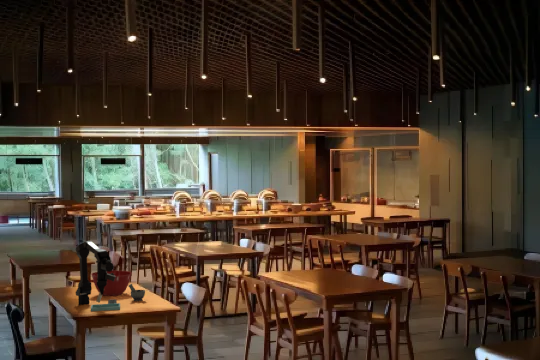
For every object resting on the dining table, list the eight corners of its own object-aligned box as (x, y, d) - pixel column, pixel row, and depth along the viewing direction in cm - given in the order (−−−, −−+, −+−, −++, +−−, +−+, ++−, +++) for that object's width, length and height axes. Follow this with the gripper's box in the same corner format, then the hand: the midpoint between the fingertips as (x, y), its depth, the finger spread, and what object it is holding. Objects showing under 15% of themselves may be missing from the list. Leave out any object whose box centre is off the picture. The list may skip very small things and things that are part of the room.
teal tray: (90, 312, 446) (90, 308, 446) (91, 308, 458) (91, 304, 458) (120, 310, 450) (120, 306, 450) (120, 307, 461) (120, 303, 461)
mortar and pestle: (143, 299, 488) (143, 281, 488) (146, 301, 479) (146, 283, 479) (127, 300, 483) (126, 283, 483) (130, 303, 475) (129, 285, 474)
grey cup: (108, 307, 461) (108, 301, 461) (108, 305, 466) (108, 299, 466) (116, 306, 462) (116, 300, 462) (116, 305, 467) (116, 299, 467)
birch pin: (95, 302, 451) (96, 288, 451) (96, 302, 454) (96, 287, 454) (104, 302, 452) (104, 288, 452) (104, 302, 455) (104, 287, 455)
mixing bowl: (137, 291, 521) (136, 270, 521) (125, 298, 493) (124, 276, 492) (99, 291, 524) (99, 270, 523) (85, 298, 495) (85, 276, 495)
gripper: (114, 271, 445) (114, 296, 446) (114, 267, 464) (115, 291, 464) (96, 272, 443) (96, 297, 443) (97, 268, 461) (97, 292, 462)
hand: (102, 294), depth 453 cm, fingers closed on birch pin, 2 cm apart
